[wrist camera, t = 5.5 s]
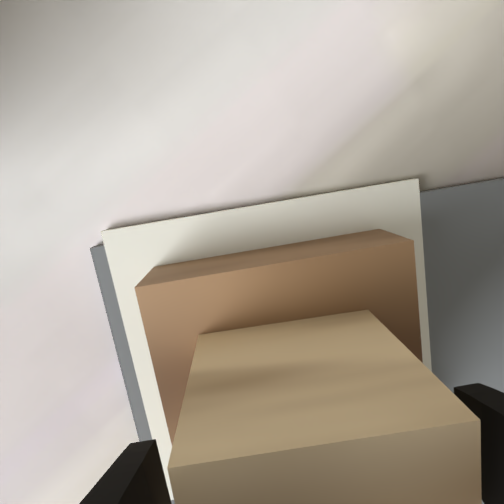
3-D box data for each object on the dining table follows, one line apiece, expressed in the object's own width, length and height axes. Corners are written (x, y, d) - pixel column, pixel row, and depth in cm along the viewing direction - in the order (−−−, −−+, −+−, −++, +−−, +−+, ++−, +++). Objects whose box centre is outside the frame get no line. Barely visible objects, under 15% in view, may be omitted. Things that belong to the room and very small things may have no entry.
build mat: (538, 570, 17) (546, 579, 16) (192, 632, 16) (191, 644, 16) (536, 158, 13) (546, 157, 13) (90, 232, 13) (85, 234, 12)
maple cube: (379, 456, 12) (483, 655, 7) (224, 480, 12) (216, 700, 7) (368, 309, 11) (480, 419, 6) (198, 334, 11) (167, 467, 6)
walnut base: (397, 427, 14) (431, 478, 12) (197, 462, 14) (189, 521, 12) (379, 228, 13) (413, 240, 10) (154, 266, 13) (134, 287, 10)
